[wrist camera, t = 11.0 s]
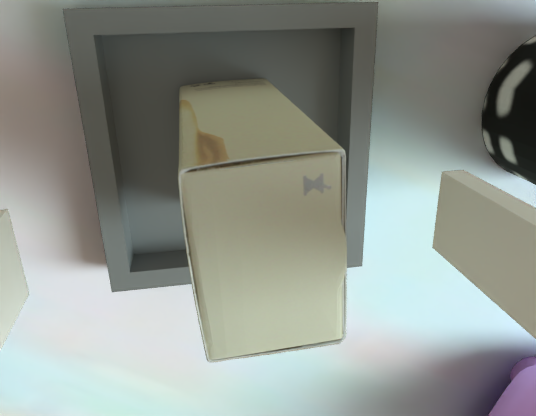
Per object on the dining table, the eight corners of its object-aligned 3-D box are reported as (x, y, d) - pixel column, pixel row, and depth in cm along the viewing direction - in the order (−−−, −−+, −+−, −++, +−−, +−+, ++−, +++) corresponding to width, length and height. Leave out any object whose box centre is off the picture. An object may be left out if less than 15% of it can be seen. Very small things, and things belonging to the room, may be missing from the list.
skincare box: (176, 84, 22) (169, 154, 11) (268, 75, 23) (349, 134, 11) (194, 210, 25) (203, 372, 13) (276, 199, 25) (350, 347, 14)
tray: (118, 267, 26) (112, 292, 23) (76, 9, 21) (62, 8, 18) (347, 245, 28) (362, 266, 25) (358, 3, 23) (378, 2, 20)
